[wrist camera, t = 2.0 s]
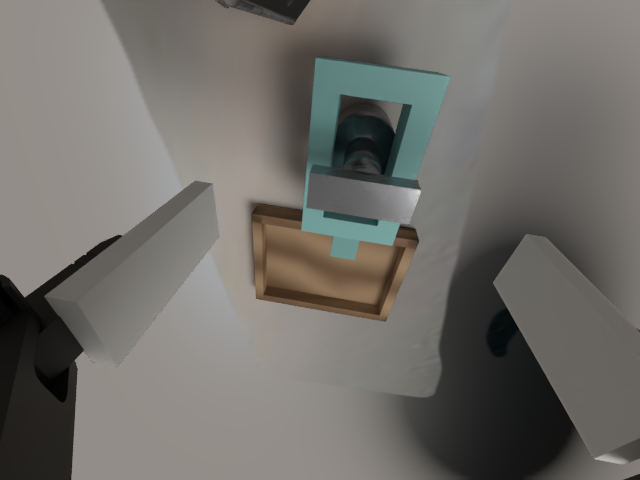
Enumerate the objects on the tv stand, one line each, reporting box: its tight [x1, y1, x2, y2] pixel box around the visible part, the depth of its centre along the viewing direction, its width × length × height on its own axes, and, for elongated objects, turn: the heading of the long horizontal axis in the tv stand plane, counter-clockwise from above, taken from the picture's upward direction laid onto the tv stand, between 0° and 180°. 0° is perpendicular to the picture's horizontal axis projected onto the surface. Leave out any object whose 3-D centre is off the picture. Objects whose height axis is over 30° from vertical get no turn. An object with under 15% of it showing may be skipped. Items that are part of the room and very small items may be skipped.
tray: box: [252, 204, 419, 322], centre depth 31 cm, size 13×17×2 cm
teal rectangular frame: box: [301, 56, 451, 260], centre depth 19 cm, size 13×7×3 cm, turn 173°
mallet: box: [306, 103, 421, 225], centre depth 18 cm, size 5×6×12 cm
